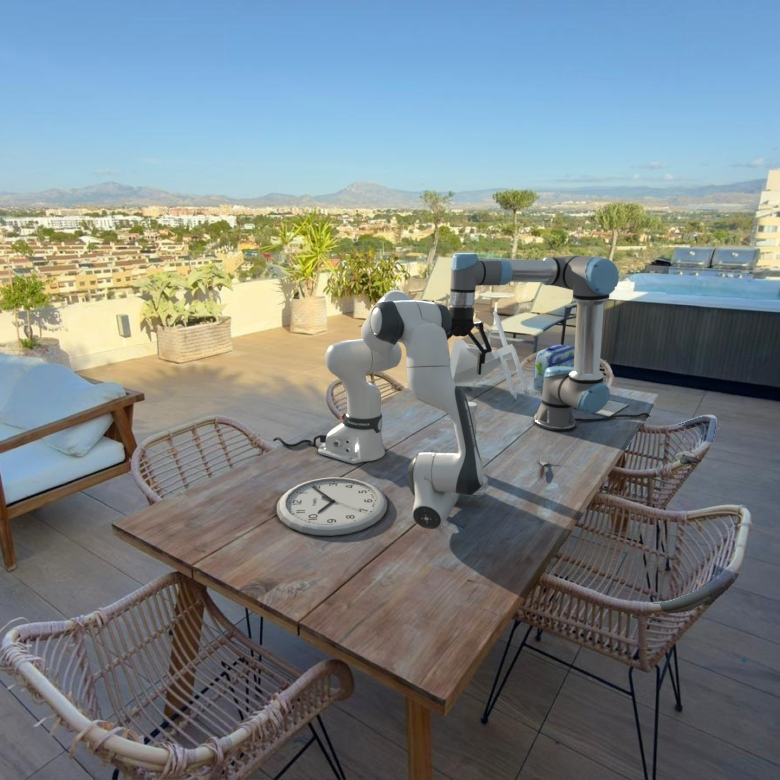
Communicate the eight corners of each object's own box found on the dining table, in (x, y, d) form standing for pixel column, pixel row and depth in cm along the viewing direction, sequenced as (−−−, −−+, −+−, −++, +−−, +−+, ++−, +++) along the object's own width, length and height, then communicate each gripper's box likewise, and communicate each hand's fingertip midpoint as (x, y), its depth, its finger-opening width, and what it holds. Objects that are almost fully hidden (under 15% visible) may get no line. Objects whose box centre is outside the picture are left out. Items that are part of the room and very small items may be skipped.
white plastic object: (461, 429, 252) (437, 405, 227) (444, 352, 274) (420, 323, 250) (535, 404, 240) (518, 377, 215) (510, 326, 262) (492, 293, 237)
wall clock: (392, 527, 129) (268, 531, 127) (391, 533, 130) (269, 537, 127) (383, 473, 158) (282, 475, 155) (383, 478, 158) (282, 480, 156)
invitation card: (608, 416, 214) (573, 407, 224) (608, 416, 214) (573, 408, 224) (628, 404, 229) (594, 396, 238) (628, 405, 229) (594, 397, 238)
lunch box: (550, 397, 237) (555, 352, 231) (529, 391, 245) (533, 348, 238) (577, 386, 255) (582, 344, 249) (556, 381, 262) (561, 340, 256)
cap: (469, 414, 155) (469, 407, 155) (458, 410, 159) (459, 403, 158) (479, 411, 158) (479, 404, 157) (468, 407, 161) (469, 400, 161)
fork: (536, 478, 160) (536, 472, 159) (540, 458, 174) (541, 452, 173) (545, 480, 159) (545, 474, 158) (548, 459, 173) (549, 453, 173)
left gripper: (483, 486, 135) (493, 464, 147) (408, 472, 142) (424, 452, 154) (481, 507, 137) (491, 484, 149) (408, 492, 144) (423, 471, 156)
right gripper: (499, 304, 163) (493, 370, 169) (419, 303, 161) (416, 369, 168) (505, 308, 155) (499, 377, 162) (421, 306, 154) (418, 375, 161)
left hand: (456, 468), depth 152 cm, fingers open, 8 cm apart
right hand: (457, 373), depth 165 cm, fingers open, 13 cm apart
